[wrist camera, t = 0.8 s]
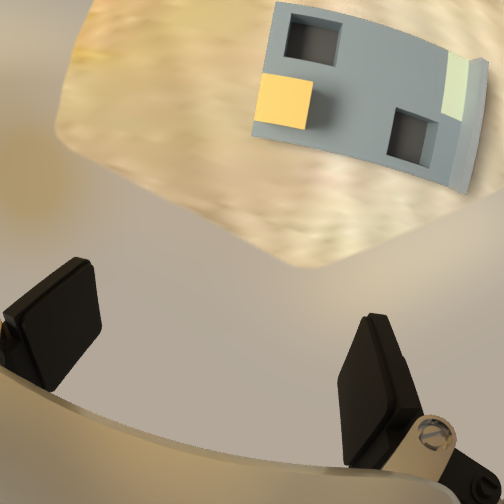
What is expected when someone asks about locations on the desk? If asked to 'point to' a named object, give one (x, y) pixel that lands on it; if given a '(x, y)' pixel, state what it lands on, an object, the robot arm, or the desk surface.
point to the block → (283, 100)
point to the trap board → (379, 94)
